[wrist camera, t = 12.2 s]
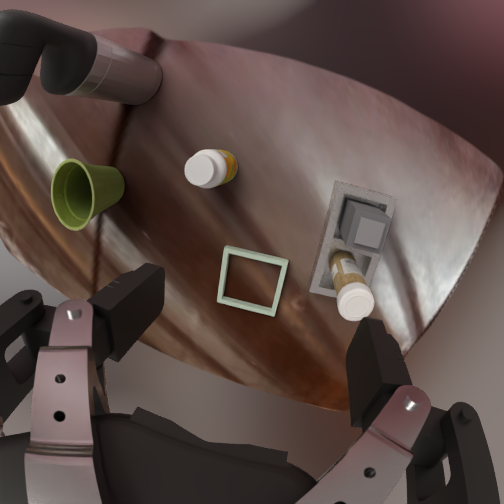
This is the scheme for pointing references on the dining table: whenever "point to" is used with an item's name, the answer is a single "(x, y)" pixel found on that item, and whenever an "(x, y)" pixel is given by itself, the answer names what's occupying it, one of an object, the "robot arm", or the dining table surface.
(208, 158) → the supplement bottle
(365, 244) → the grey stepped square plug
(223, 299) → the tray frame
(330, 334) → the dining table surface
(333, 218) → the divided grey caddy
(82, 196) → the plant pot
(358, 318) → the sprinkles bottle
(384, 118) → the dining table surface
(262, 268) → the dining table surface
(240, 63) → the dining table surface
